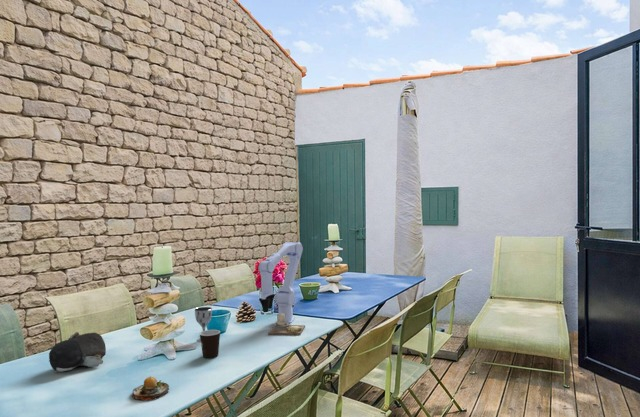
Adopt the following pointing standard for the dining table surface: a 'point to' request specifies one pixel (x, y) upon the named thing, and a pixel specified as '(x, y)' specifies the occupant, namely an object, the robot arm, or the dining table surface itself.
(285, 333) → the plate
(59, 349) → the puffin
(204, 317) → the wine glass
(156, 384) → the brimmed hat
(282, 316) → the planet hub
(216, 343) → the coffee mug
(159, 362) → the dining table surface
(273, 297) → the robot arm
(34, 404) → the dining table surface
